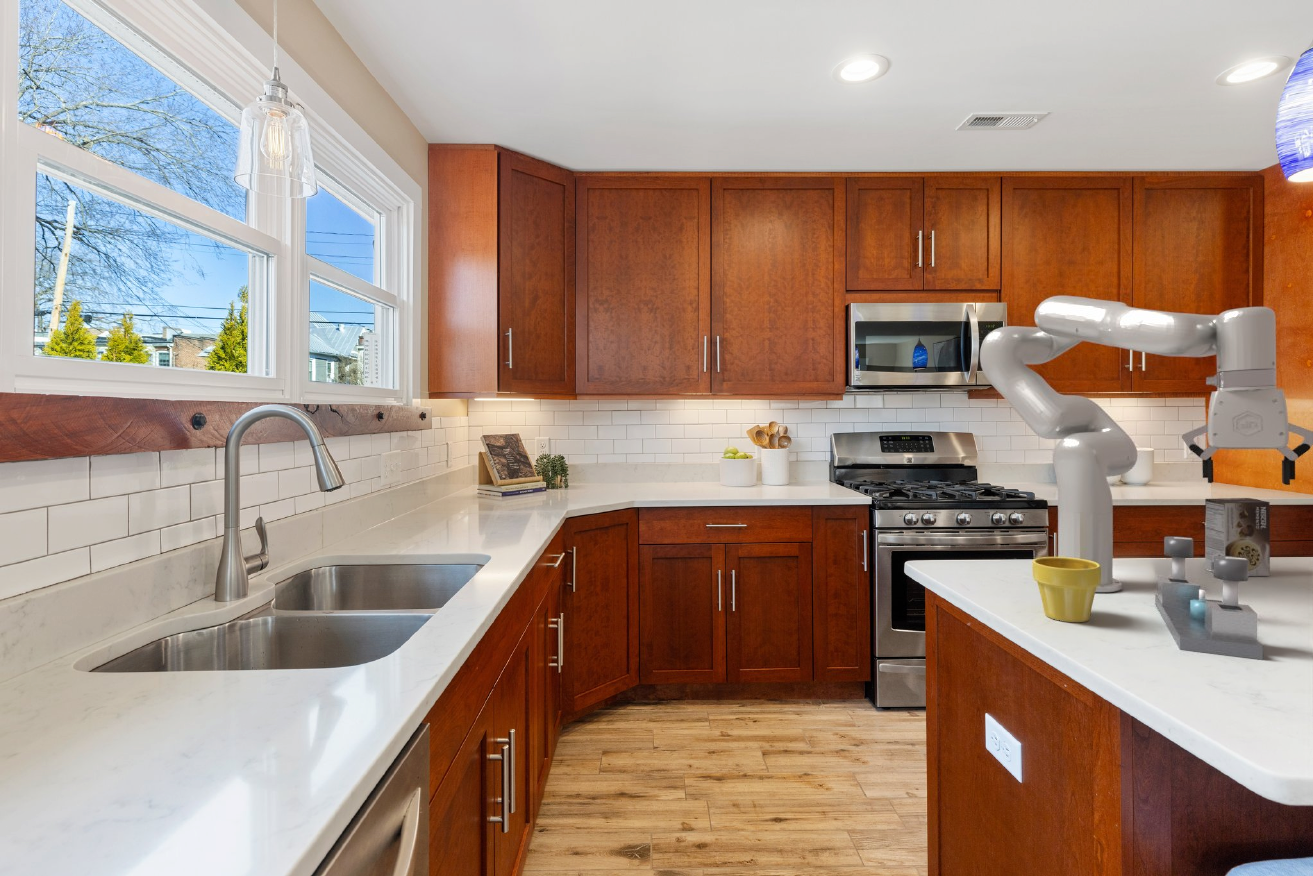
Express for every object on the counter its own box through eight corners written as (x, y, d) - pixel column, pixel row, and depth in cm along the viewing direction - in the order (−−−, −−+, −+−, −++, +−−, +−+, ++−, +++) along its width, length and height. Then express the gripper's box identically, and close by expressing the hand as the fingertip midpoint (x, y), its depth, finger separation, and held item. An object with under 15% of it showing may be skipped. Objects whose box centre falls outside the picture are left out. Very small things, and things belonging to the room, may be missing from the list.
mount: (1179, 649, 102) (1180, 610, 102) (1155, 605, 124) (1155, 573, 124) (1262, 659, 97) (1262, 618, 97) (1221, 611, 120) (1221, 578, 119)
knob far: (1166, 579, 118) (1166, 538, 117) (1162, 574, 121) (1162, 535, 121) (1195, 581, 116) (1195, 540, 115) (1190, 576, 119) (1190, 536, 119)
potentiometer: (1192, 618, 110) (1192, 591, 110) (1188, 613, 113) (1188, 586, 113) (1215, 620, 109) (1215, 593, 108) (1211, 615, 111) (1211, 588, 111)
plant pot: (1019, 613, 121) (1019, 559, 121) (1058, 605, 125) (1058, 553, 125) (1074, 629, 112) (1074, 571, 111) (1114, 621, 116) (1115, 564, 116)
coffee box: (1247, 569, 149) (1248, 497, 148) (1271, 576, 143) (1271, 501, 142) (1203, 569, 150) (1203, 497, 149) (1224, 576, 144) (1225, 501, 143)
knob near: (1216, 605, 102) (1216, 559, 102) (1210, 599, 105) (1211, 554, 105) (1251, 609, 100) (1251, 561, 100) (1244, 602, 103) (1244, 556, 103)
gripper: (1180, 384, 116) (1182, 483, 116) (1321, 377, 105) (1322, 487, 105) (1181, 385, 122) (1182, 480, 122) (1314, 379, 111) (1315, 483, 111)
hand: (1247, 483), depth 114 cm, fingers open, 9 cm apart
